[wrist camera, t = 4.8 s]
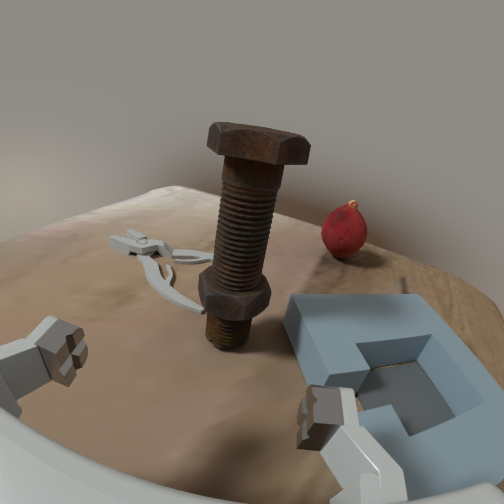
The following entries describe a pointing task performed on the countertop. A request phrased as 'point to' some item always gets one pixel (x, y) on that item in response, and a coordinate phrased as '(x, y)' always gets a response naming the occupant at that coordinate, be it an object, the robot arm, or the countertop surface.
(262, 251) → the bolt
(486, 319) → the countertop surface
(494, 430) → the pocket frame
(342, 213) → the onion
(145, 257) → the pliers
